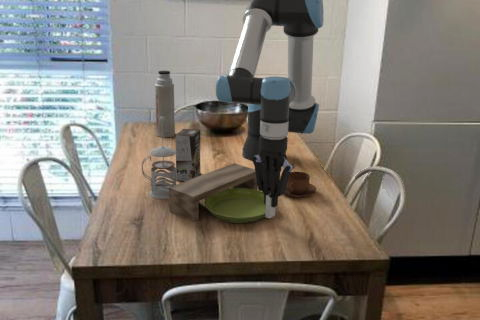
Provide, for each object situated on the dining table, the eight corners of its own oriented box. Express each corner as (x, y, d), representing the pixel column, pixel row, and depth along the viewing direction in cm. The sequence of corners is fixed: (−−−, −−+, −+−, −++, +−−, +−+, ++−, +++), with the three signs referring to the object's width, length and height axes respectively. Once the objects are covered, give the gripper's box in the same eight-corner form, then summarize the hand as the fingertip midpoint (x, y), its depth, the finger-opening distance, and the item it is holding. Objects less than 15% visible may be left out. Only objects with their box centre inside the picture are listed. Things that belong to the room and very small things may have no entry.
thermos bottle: (156, 137, 218) (154, 72, 209) (156, 132, 226) (155, 69, 216) (174, 137, 219) (173, 72, 210) (174, 132, 226) (173, 69, 217)
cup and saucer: (315, 202, 157) (316, 183, 155) (276, 198, 159) (277, 180, 157) (316, 188, 168) (317, 170, 166) (280, 184, 170) (281, 167, 168)
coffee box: (193, 182, 170) (193, 136, 165) (175, 180, 171) (174, 134, 166) (201, 173, 178) (201, 129, 173) (183, 171, 179) (183, 127, 174)
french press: (180, 198, 157) (179, 120, 149) (142, 199, 155) (139, 121, 147) (178, 186, 166) (177, 112, 158) (143, 187, 164) (139, 113, 156)
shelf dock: (257, 192, 163) (258, 170, 160) (193, 221, 142) (193, 196, 139) (234, 184, 169) (234, 163, 167) (169, 211, 148) (168, 187, 145)
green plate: (210, 195, 160) (210, 186, 159) (275, 199, 158) (275, 190, 157) (198, 224, 141) (198, 214, 139) (273, 229, 139) (273, 218, 138)
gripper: (245, 133, 136) (243, 213, 143) (285, 143, 128) (281, 227, 136) (262, 128, 141) (260, 205, 149) (301, 137, 134) (296, 218, 141)
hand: (270, 216), depth 142 cm, fingers closed
